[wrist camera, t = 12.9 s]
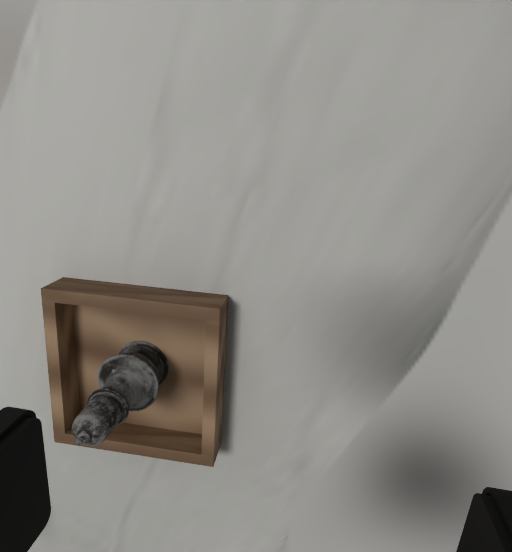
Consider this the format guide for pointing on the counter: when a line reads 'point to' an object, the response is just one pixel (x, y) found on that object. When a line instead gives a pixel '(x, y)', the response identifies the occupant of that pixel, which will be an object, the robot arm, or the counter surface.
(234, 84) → the counter surface
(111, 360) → the dark grey rounded piece
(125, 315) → the tray
